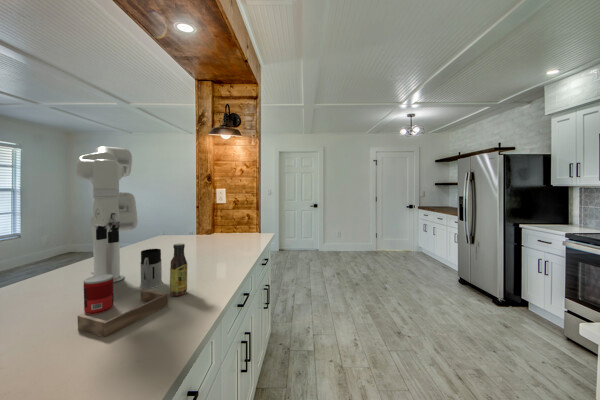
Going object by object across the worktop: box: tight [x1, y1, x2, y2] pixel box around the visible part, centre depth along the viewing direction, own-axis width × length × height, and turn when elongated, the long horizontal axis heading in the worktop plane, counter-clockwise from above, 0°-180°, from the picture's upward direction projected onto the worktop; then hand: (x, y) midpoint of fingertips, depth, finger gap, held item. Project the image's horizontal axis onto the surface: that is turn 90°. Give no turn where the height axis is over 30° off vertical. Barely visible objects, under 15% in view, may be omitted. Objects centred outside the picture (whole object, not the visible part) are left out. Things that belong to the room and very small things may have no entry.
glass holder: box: [139, 248, 164, 289], centre depth 107 cm, size 9×14×15 cm, turn 18°
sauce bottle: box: [169, 242, 188, 297], centre depth 100 cm, size 6×6×20 cm
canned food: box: [83, 274, 115, 315], centre depth 87 cm, size 8×8×11 cm
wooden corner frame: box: [77, 289, 169, 338], centre depth 82 cm, size 12×21×4 cm, turn 160°
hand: (107, 240), depth 92 cm, fingers open, 9 cm apart
